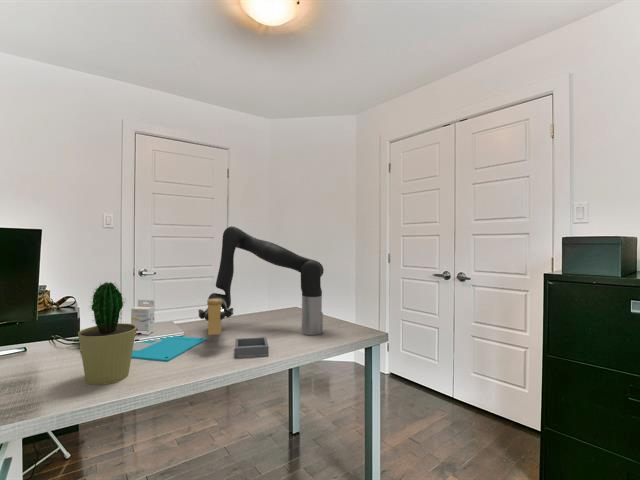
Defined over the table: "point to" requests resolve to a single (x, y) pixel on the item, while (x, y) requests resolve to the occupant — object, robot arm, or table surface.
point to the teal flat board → (164, 348)
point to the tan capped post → (214, 316)
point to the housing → (251, 347)
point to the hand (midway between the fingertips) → (214, 317)
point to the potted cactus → (107, 339)
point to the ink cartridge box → (143, 315)
